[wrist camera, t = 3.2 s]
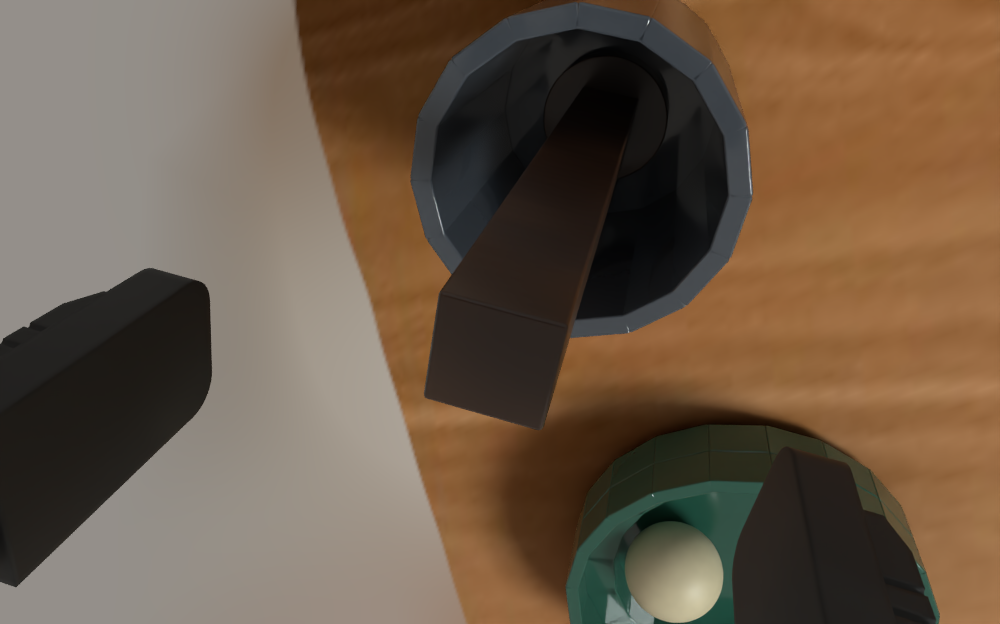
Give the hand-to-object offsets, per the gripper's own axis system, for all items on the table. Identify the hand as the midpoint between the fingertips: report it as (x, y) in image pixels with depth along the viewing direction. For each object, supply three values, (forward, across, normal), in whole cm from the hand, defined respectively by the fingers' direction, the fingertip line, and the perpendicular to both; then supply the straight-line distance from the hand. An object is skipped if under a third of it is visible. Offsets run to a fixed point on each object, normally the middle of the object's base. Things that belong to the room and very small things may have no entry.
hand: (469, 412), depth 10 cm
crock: (+20, 0, 0) cm, 20 cm away
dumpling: (+18, -8, +19) cm, 27 cm away
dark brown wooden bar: (+20, 0, 0) cm, 20 cm away
